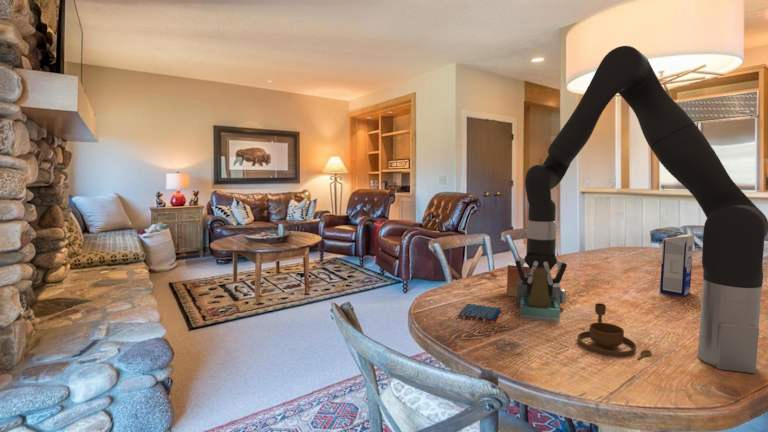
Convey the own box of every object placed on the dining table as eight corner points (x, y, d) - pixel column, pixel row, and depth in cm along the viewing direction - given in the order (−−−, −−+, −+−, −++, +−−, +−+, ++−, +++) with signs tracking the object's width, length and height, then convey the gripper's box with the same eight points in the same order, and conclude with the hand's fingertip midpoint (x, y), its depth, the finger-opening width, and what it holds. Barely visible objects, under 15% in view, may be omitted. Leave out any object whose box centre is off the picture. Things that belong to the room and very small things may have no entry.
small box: (506, 296, 131) (506, 264, 130) (509, 291, 136) (510, 261, 135) (531, 299, 127) (532, 267, 126) (534, 294, 132) (535, 263, 131)
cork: (552, 307, 109) (554, 268, 108) (529, 306, 111) (530, 268, 110) (548, 301, 115) (549, 264, 114) (526, 300, 117) (527, 263, 115)
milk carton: (684, 296, 128) (688, 235, 126) (659, 292, 133) (663, 233, 131) (690, 292, 133) (694, 233, 131) (666, 288, 138) (669, 231, 136)
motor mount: (570, 323, 106) (571, 289, 105) (516, 318, 110) (517, 285, 110) (563, 304, 122) (564, 274, 121) (517, 300, 126) (517, 271, 125)
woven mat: (465, 308, 121) (466, 302, 121) (501, 313, 116) (502, 306, 116) (456, 320, 111) (456, 312, 111) (495, 325, 107) (495, 318, 107)
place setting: (555, 342, 96) (556, 318, 96) (594, 322, 108) (595, 301, 108) (635, 369, 82) (637, 342, 82) (670, 343, 94) (671, 319, 94)
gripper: (514, 237, 110) (512, 297, 111) (570, 239, 105) (568, 302, 107) (514, 233, 117) (513, 290, 119) (567, 235, 112) (565, 294, 114)
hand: (539, 295), depth 113 cm, fingers closed on cork, 4 cm apart
